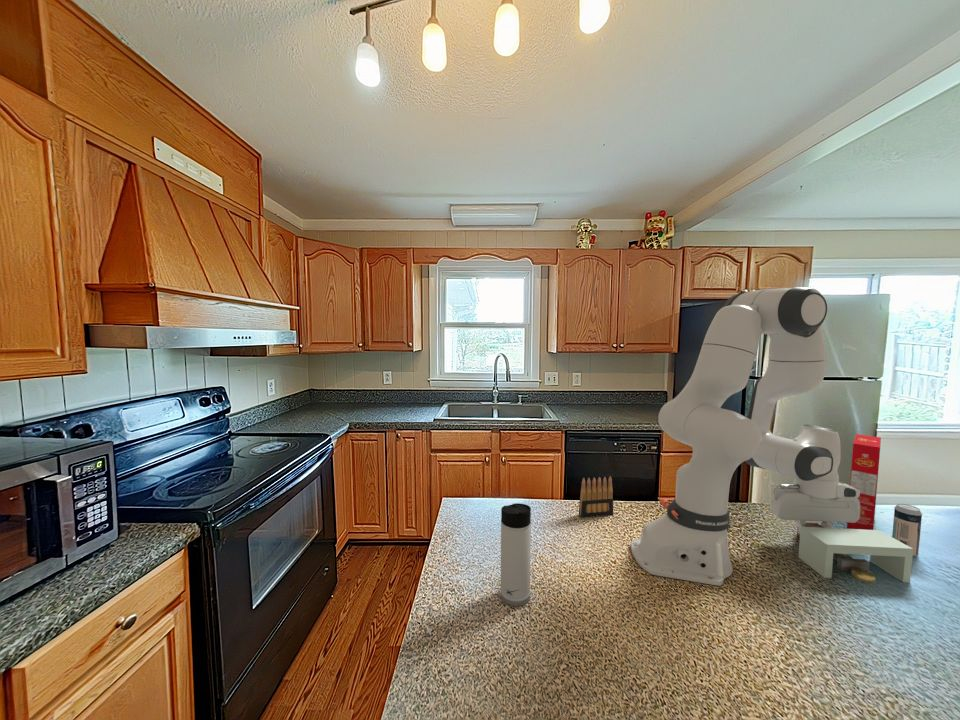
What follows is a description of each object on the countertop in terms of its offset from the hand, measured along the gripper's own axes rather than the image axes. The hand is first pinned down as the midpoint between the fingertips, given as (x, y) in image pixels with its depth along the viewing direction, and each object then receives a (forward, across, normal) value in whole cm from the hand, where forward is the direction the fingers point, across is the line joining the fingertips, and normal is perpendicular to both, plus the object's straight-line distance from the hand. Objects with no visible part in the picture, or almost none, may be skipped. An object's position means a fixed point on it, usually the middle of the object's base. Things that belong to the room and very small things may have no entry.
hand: (812, 535), depth 102 cm
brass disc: (+2, 0, -15) cm, 15 cm away
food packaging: (+2, +23, +12) cm, 26 cm away
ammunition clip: (+2, -55, +10) cm, 56 cm away
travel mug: (+2, -80, -28) cm, 85 cm away
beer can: (+2, +20, -3) cm, 20 cm away
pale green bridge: (+2, 0, -12) cm, 12 cm away
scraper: (+2, 0, -5) cm, 5 cm away
